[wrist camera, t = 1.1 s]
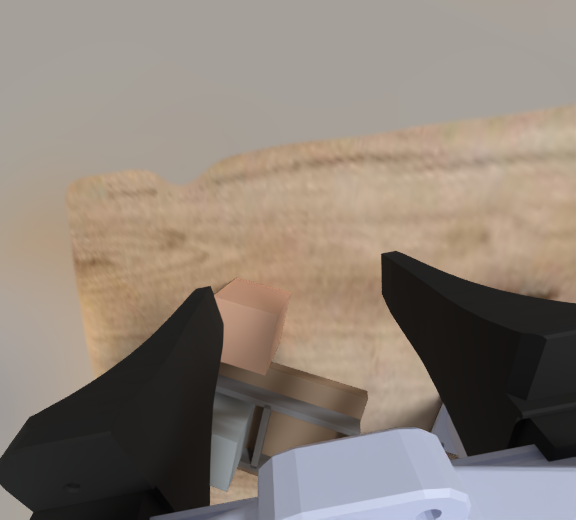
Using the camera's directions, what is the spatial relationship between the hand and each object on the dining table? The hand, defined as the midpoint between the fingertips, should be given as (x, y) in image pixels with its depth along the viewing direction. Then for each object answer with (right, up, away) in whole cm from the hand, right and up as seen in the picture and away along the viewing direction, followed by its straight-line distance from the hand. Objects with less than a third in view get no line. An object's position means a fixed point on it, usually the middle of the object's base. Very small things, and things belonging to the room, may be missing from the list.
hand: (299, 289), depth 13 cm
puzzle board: (-2, -14, +16) cm, 22 cm away
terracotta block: (-3, -3, +14) cm, 15 cm away
